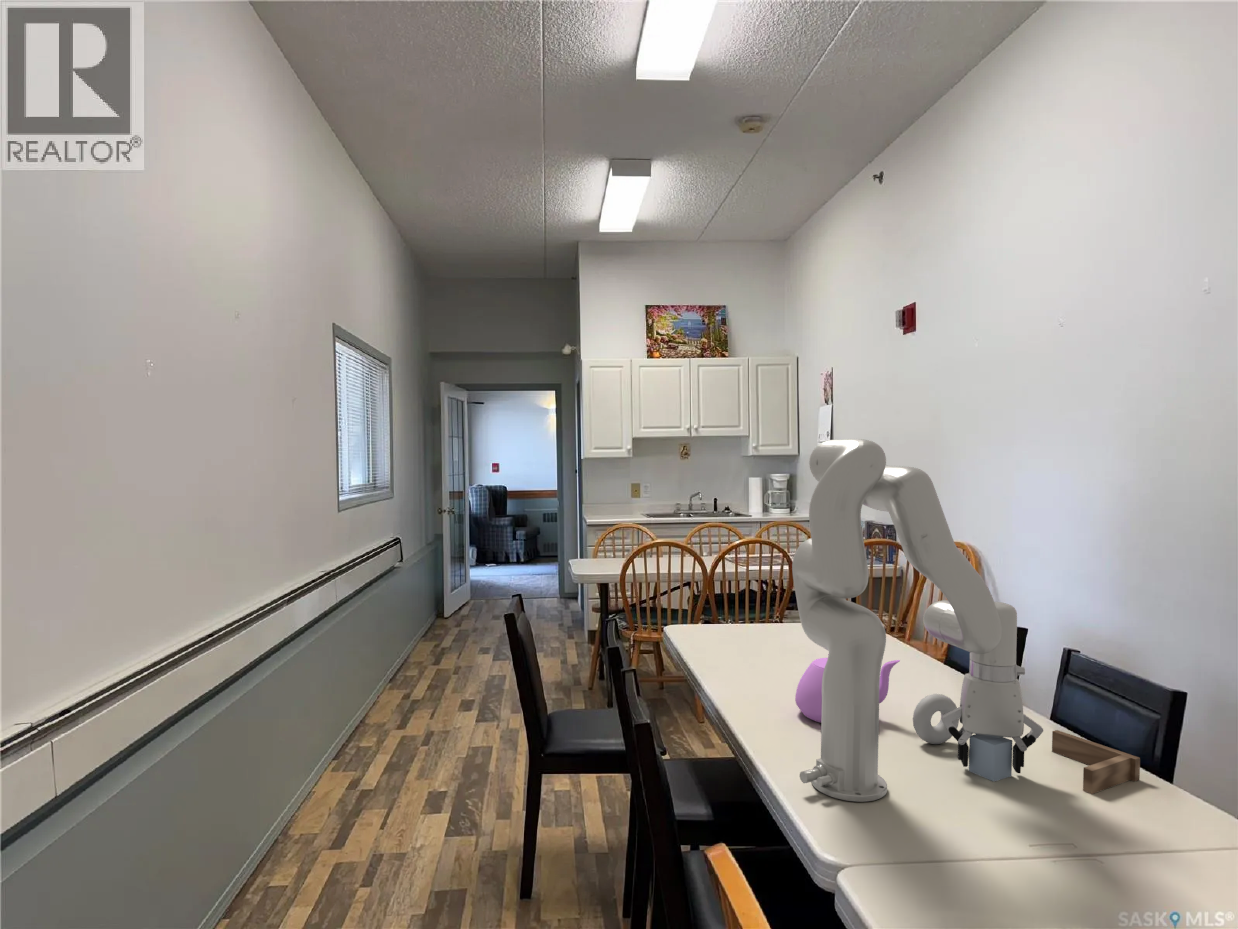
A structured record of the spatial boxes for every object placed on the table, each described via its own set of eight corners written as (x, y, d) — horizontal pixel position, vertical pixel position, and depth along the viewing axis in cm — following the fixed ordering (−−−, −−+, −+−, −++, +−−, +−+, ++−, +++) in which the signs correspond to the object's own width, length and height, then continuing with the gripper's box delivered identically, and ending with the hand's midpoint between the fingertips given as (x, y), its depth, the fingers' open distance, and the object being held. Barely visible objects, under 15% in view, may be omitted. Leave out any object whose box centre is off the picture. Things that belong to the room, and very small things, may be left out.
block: (993, 782, 134) (994, 745, 134) (968, 771, 139) (969, 735, 138) (1011, 776, 137) (1012, 740, 137) (986, 766, 141) (987, 731, 141)
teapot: (907, 741, 153) (908, 672, 152) (796, 731, 157) (797, 665, 157) (890, 705, 174) (892, 645, 174) (793, 697, 178) (794, 639, 178)
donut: (919, 749, 148) (920, 698, 148) (908, 742, 152) (909, 693, 151) (962, 744, 151) (963, 694, 151) (950, 738, 154) (951, 689, 154)
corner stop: (1096, 796, 129) (1097, 772, 129) (1013, 763, 142) (1014, 742, 142) (1139, 780, 136) (1140, 757, 136) (1056, 750, 149) (1056, 730, 149)
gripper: (1040, 670, 138) (1038, 765, 139) (937, 661, 143) (935, 753, 144) (1051, 682, 131) (1049, 782, 132) (943, 672, 136) (941, 769, 136)
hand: (990, 766), depth 138 cm, fingers open, 8 cm apart
